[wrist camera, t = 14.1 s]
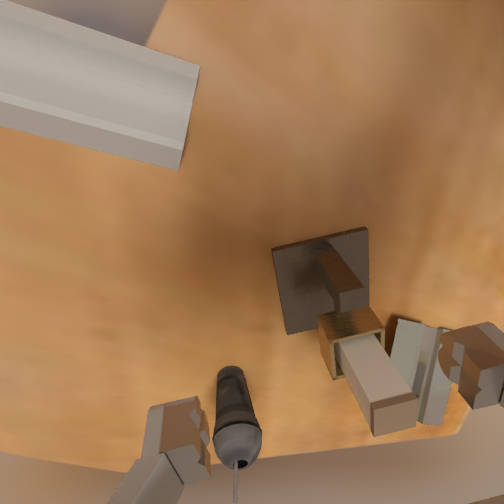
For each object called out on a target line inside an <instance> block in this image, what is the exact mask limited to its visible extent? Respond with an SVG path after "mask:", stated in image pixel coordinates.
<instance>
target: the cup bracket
mask: <svg viewBox="0 0 504 504" xmlns="http://www.w3.org/2000/svg"><path fill="white" fill-rule="evenodd" d="M271 249H272V255H273V260H274V266H275V272H276V277H277V283H278V289H279V294H280V300H281V305H282V311H283V317H284V322H285V328H286V332H287V335H290V334H294V333H298V332H302V331H306V330H310V329H314V328H318V333H319V342H320V350H321V354H322V356H323V359H324V361H325V363H326V365H327V368H328V370H329V372H330V375H331V377H332V379H333V380H336V379H340V378H344V377H345V375H344V373H343V371H342V369H341V367H340V365H339V363H338V361H337V359H336V357H335V354H334V343H337V342H341V341H345V340H349V339H353V338H357V337H361V336H365V335H369V334H374V335H375V337H376V338H377V340H378V341H379V343H380V344H381V346H382V347H383V349H384V350H385V327H384V326H383V324H382V323H381V322H380V320H379V319H378V317H377V316H376V315H375V313H374V312H373V311H372V309H371V308H370V307H369V252H368V229H367V228H366V227H361V228H357V229H353V230H348V231H344V232H340V233H336V234H331V235H327V236H323V237H318V238H314V239H310V240H306V241H301V242H297V243H293V244H288V245H284V246H280V247H276V248H271Z"/></svg>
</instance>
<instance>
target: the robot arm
mask: <svg viewBox="0 0 504 504" xmlns="http://www.w3.org/2000/svg"><path fill="white" fill-rule="evenodd" d="M439 342H440V343H441V344H442V345H443V346H442V348H441V349H440V350H439V351H438V361H439V364H440V367H441V369H442V371H443V373H444V374H445V375H446V377H447V378H448V379H449V380H450V381H452V382H454V383H456V384H458V392H459V393H460V394H461V396H462V397H463V398H464V399H465V401H466V402H467V403H468V404H469V406H470V407H471V408H472V409H473V410H474V409H478V408H482V407H486V406H491V405H496V404H500V406H502V407H504V333H503V332H502V331H501V330H500V329H498V328H497V327H496V326H495V325H494V324H493V323H490V322H484V323H480V324H476V325H472V326H467V327H463V328H459V329H456V330H452V331H448V332H445V333H442V334H441V336H440V341H439ZM209 442H210V433H209V426H208V421H207V417H206V414H205V412H204V411H203V410H201V408H200V401H199V399H198V396H195V397H190V398H186V399H182V400H177V401H173V402H168V403H164V404H160V405H156V406H152V407H150V409H149V411H148V415H147V422H146V428H145V435H144V442H143V449H142V456H141V459H138V460H136V461H135V463H134V464H133V466H132V467H131V469H130V470H129V471H128V473H127V474H126V476H125V477H124V479H123V480H122V482H121V483H120V485H119V486H118V488H117V489H116V491H115V492H114V494H113V495H112V496H111V498H110V499H109V501H108V502H107V504H177V502H178V500H179V498H180V496H181V493H182V491H183V489H184V485H187V484H191V483H194V482H197V481H200V480H204V479H208V478H211V464H210V454H209V452H208V449H207V446H208V444H209ZM469 504H504V494H503V495H499V496H495V497H492V498H488V499H484V500H480V501H476V502H473V503H469Z"/></svg>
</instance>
